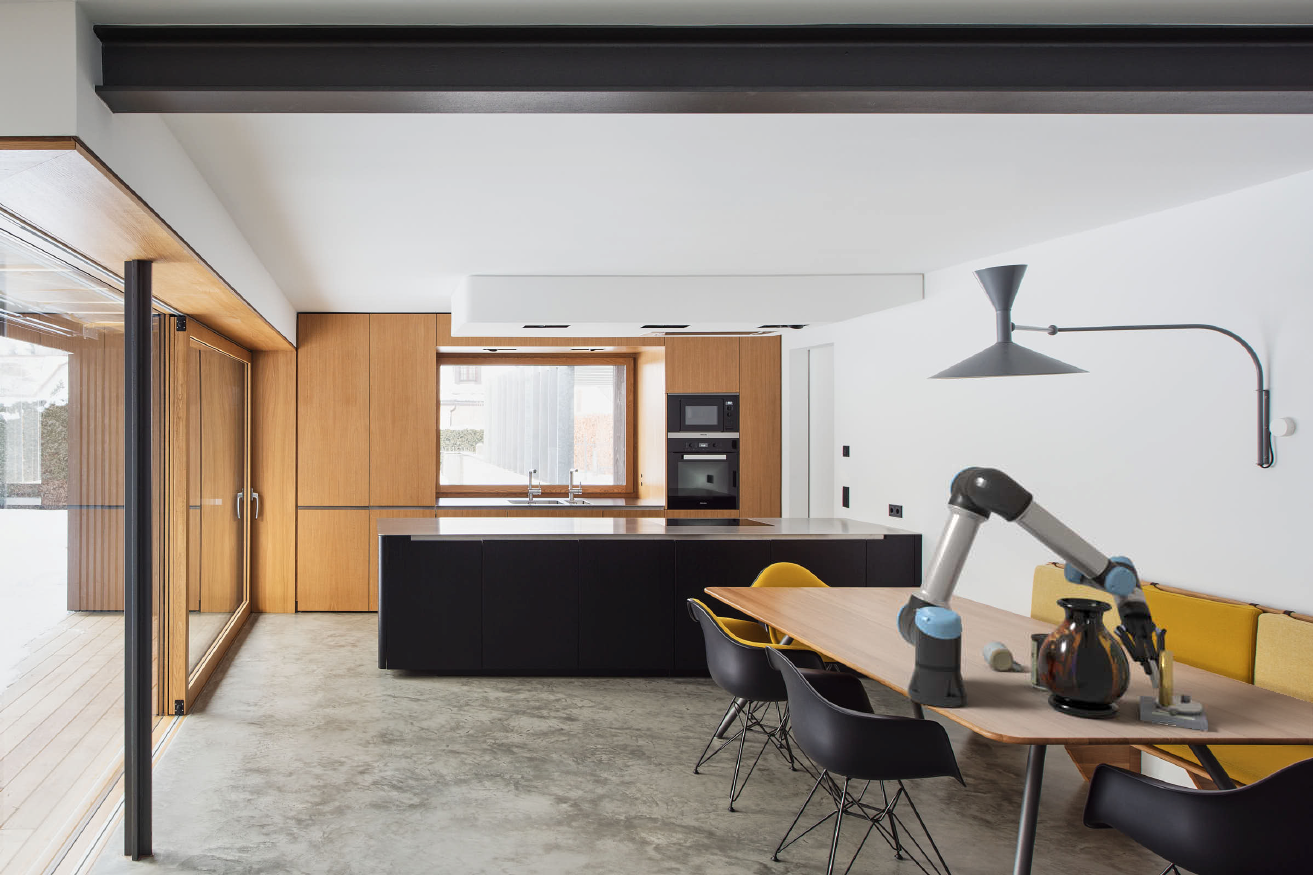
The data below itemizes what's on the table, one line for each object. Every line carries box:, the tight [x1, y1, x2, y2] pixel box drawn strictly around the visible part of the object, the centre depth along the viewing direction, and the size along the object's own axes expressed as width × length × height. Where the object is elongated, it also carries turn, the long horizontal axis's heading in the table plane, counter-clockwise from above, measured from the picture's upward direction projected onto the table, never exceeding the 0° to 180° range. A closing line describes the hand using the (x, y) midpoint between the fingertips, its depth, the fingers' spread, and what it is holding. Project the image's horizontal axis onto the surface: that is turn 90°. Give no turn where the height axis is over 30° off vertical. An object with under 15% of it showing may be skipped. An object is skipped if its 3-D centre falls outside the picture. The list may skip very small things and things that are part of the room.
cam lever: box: [1155, 649, 1203, 714], centre depth 210 cm, size 10×11×15 cm
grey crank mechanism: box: [1139, 694, 1209, 732], centre depth 211 cm, size 18×14×4 cm
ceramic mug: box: [982, 640, 1023, 672], centre depth 254 cm, size 11×8×8 cm
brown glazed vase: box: [1038, 597, 1132, 719], centre depth 215 cm, size 22×22×28 cm
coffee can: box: [1030, 633, 1051, 692], centre depth 235 cm, size 10×10×14 cm
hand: (1157, 685), depth 211 cm, fingers closed
